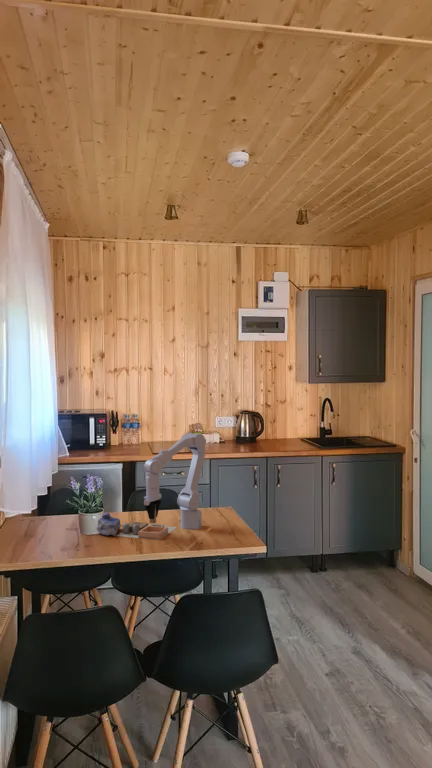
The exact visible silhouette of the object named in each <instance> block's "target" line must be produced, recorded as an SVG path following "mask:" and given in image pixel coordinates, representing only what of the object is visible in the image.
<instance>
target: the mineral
mask: <svg viewBox="0 0 432 768" xmlns="http://www.w3.org/2000/svg"><path fill="white" fill-rule="evenodd" d="M121 525H122V524H121V519H120V518H117V517H113V516H111V514H110V512H108V511H107V512H103V515H102V518H100V519H99V518H98V519H97V527H96V530H97V533H99V534H100V535H102V536H108V537H109V536H115V537H116V535H118V531H119V530H120V529H121Z"/></svg>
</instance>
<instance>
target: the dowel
mask: <svg viewBox="0 0 432 768" xmlns="http://www.w3.org/2000/svg"><path fill="white" fill-rule="evenodd" d="M156 522H157V517H156V509H155V517H154V519H149V524H157V523H156Z"/></svg>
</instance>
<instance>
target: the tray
mask: <svg viewBox="0 0 432 768" xmlns="http://www.w3.org/2000/svg"><path fill="white" fill-rule="evenodd" d="M167 533H168V527H159V526H146V527H145V528H143V529H142V530H140V531H139V532H138V538H137V539H144V538H150V539H149V540H156V539H161V538H162V537H163V536H165V535H166V534H167ZM167 535H168V534H167ZM167 535H166V536H167ZM166 536H165V537H166ZM163 538H164V537H163ZM163 538H162V539H163ZM162 539H161V540H162Z"/></svg>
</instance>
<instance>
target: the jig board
mask: <svg viewBox="0 0 432 768" xmlns="http://www.w3.org/2000/svg"><path fill="white" fill-rule="evenodd" d="M129 524H130V523H126V522H125V523H123V524H121V525H122V532H120V533H117V534H116V535H115V537H122V538H123V537H124V538H133V539H134V538H135V539H139V538H138V532H139V531H140V525H139V524H134V525H133V533H131V532H129ZM148 526H159V527H168V533H167V534H166V535H165V536H163V537H162V538H161V539H155V540H159V541H161V540H162V539H163V538H165V537H166V536H167V535H169V534H170V533H172V532H173V531H174V530H175V529H177V526H166V525H165V524H157V523H151V524H148ZM144 539H146V540H151V539H150V538H143V540H144Z"/></svg>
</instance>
